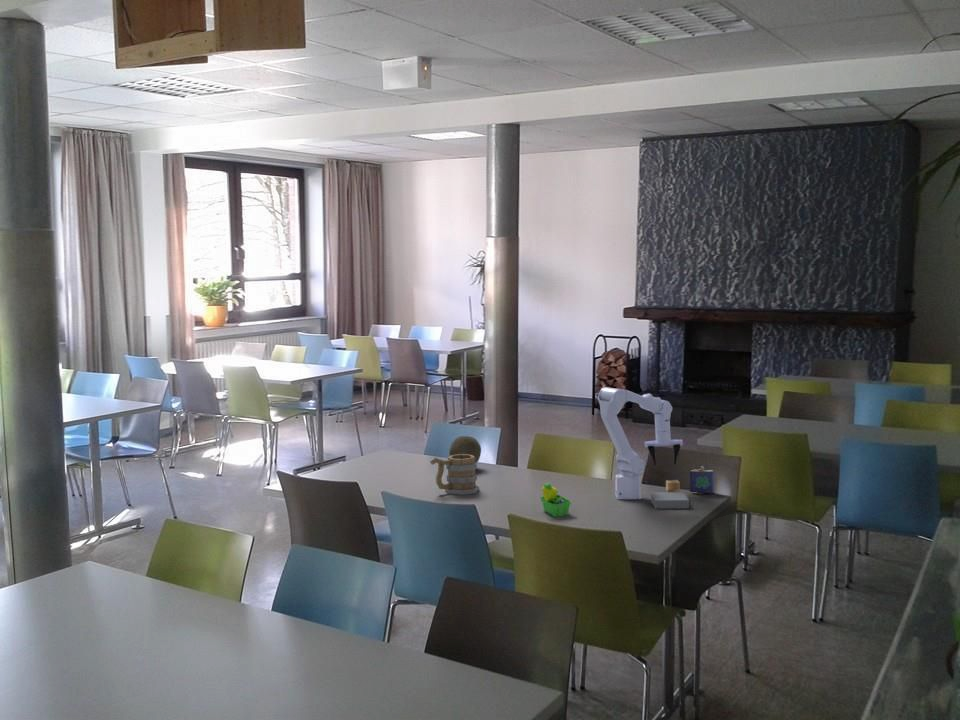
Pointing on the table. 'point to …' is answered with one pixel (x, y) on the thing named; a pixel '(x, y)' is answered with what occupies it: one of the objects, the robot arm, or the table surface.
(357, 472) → the table surface
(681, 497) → the base block
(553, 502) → the fruit basket
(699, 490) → the flask
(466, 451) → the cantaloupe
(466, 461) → the tankard
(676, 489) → the oak block
